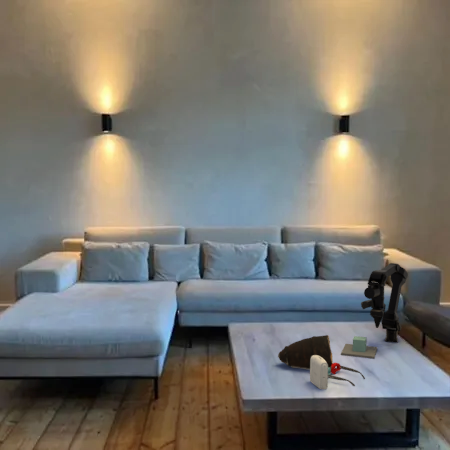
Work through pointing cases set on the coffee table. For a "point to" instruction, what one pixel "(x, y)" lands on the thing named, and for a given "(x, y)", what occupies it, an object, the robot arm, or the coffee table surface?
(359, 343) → the cube
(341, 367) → the novelty glasses
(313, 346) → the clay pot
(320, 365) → the photo printer
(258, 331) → the coffee table surface
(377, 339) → the coffee table surface
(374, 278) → the robot arm
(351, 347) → the mat
